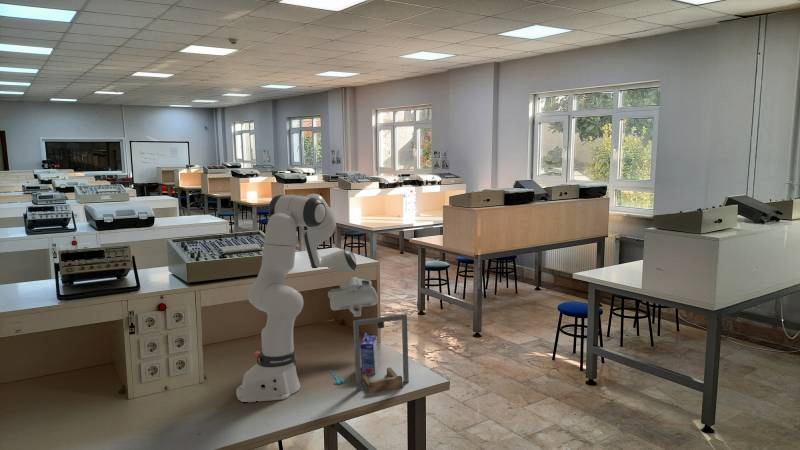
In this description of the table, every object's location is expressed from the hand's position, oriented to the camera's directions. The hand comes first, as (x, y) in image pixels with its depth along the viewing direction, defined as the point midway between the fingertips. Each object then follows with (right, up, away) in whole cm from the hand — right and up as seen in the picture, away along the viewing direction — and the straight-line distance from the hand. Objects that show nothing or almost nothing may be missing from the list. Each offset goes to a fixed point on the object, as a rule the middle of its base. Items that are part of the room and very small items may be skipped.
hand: (357, 315), depth 228 cm
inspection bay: (+10, -20, -25) cm, 34 cm away
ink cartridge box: (+6, -19, -13) cm, 24 cm away
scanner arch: (+11, -21, -28) cm, 36 cm away
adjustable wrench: (-7, -21, -19) cm, 29 cm away
